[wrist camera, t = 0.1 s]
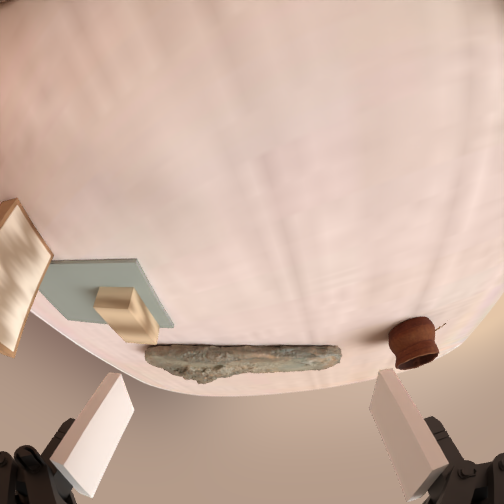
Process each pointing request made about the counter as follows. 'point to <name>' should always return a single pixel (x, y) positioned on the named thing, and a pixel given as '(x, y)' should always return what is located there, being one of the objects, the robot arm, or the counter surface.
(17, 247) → the slab
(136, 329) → the tan wooden block
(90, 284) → the mat
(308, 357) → the elongated rock
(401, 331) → the ceramic pot
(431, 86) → the counter surface
